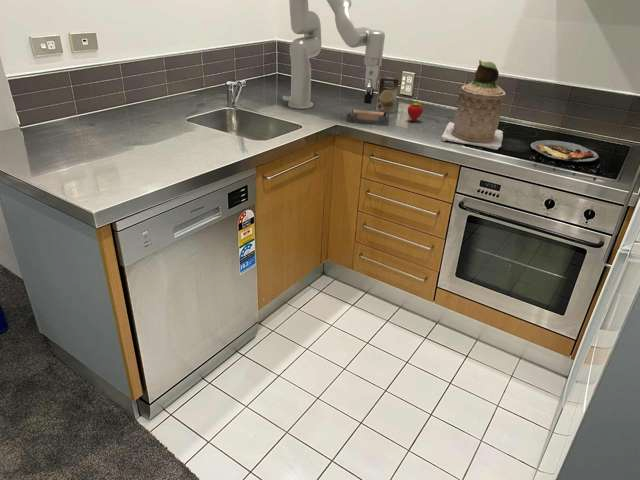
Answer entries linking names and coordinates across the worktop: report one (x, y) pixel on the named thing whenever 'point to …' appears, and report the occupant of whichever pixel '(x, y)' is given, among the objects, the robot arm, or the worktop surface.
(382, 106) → the coffee box
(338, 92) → the worktop surface
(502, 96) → the cookie jar
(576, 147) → the food plate
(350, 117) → the drying rack
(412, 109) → the strawberry
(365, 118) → the clay strip
